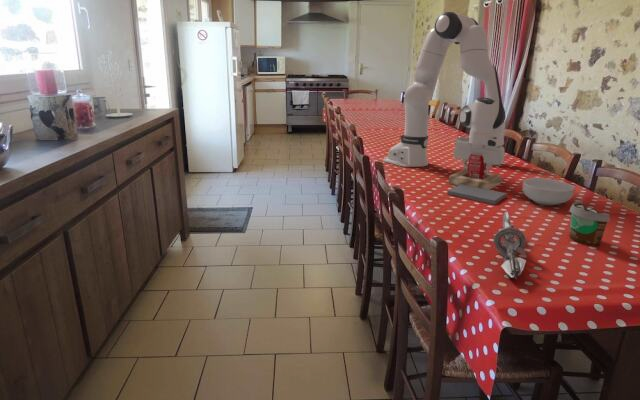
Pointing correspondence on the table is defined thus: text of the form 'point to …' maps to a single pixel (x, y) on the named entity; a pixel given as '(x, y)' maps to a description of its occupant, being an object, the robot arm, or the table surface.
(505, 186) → the table surface
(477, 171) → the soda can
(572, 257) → the table surface
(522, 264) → the spaceship
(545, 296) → the table surface
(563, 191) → the cereal bowl
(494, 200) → the charcoal board
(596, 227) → the food container
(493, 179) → the wooden holder
